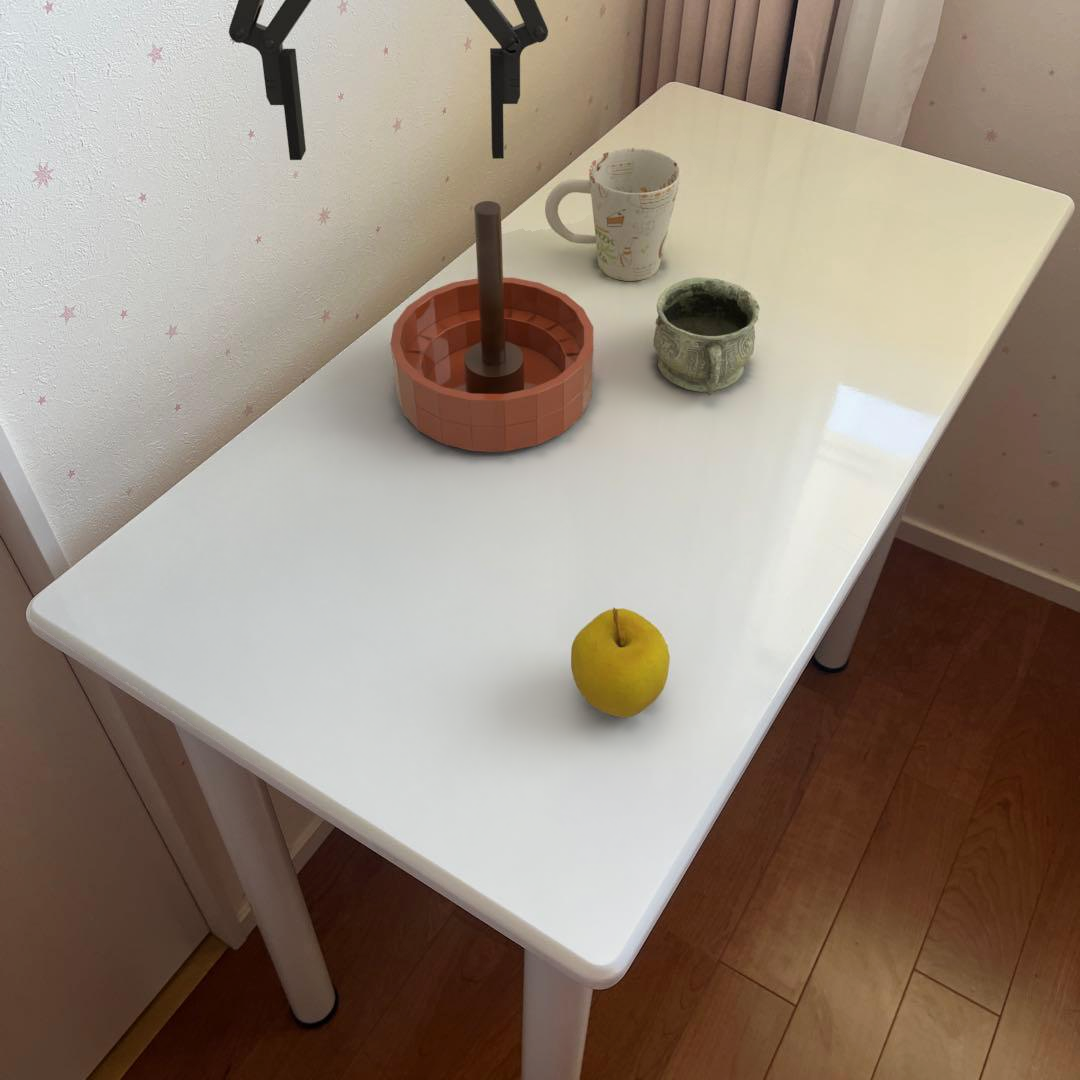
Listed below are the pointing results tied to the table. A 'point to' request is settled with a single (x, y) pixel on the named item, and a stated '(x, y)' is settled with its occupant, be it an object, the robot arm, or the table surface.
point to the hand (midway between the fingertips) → (398, 155)
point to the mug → (624, 210)
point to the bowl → (454, 326)
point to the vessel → (704, 333)
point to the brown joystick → (491, 314)
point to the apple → (620, 662)
